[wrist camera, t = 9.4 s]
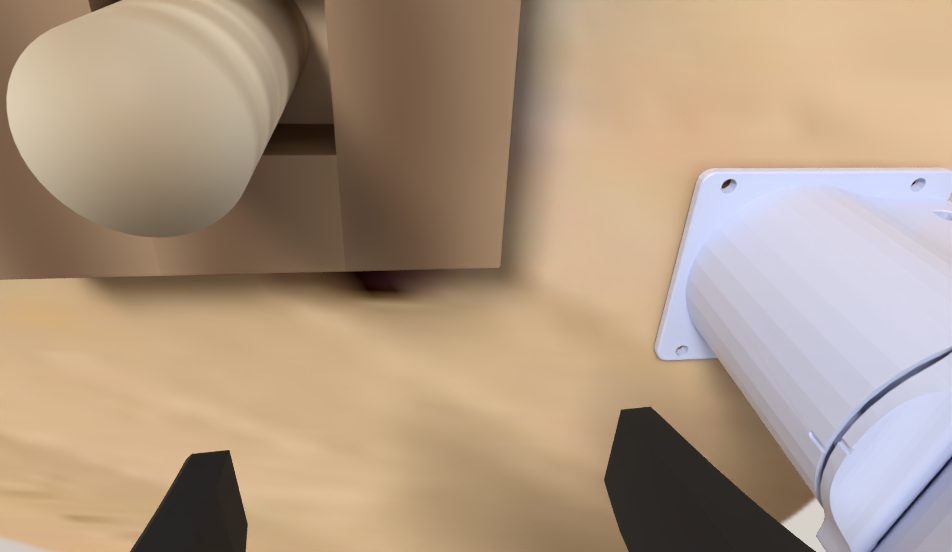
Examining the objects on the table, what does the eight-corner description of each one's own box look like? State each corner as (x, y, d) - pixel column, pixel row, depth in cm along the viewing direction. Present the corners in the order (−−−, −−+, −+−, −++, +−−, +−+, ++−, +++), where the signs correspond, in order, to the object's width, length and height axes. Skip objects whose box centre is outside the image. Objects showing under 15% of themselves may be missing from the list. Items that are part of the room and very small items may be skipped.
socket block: (514, -238, 14) (541, -266, 12) (486, 221, 21) (500, 267, 18) (-158, -293, 13) (-295, -339, 10) (38, 227, 19) (-17, 279, 16)
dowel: (299, -38, 15) (229, 17, 9) (316, 101, 17) (269, 232, 11) (154, -38, 15) (-35, 18, 8) (187, 103, 17) (53, 241, 10)
